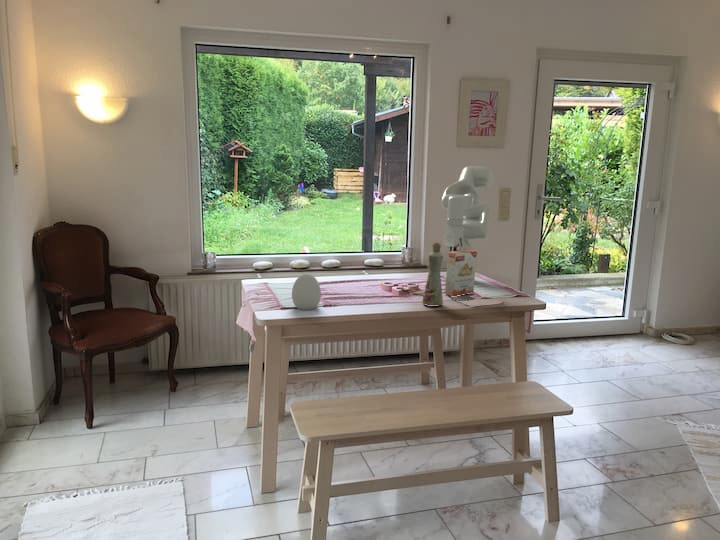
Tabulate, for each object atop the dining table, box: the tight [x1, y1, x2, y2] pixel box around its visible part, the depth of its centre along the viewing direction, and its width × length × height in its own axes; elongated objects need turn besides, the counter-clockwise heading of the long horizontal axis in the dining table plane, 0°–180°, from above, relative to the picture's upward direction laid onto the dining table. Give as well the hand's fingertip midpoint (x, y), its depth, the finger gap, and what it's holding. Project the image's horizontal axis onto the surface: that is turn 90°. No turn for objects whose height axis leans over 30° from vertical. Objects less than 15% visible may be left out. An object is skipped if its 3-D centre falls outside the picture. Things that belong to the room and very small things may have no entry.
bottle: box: [421, 242, 444, 306], centre depth 260 cm, size 9×9×28 cm
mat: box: [449, 295, 475, 301], centre depth 272 cm, size 16×18×1 cm
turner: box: [410, 288, 425, 297], centre depth 283 cm, size 16×5×1 cm, turn 48°
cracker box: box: [444, 250, 478, 297], centre depth 281 cm, size 14×6×21 cm, turn 126°
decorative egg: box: [291, 272, 322, 311], centre depth 252 cm, size 12×12×15 cm
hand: (452, 260), depth 286 cm, fingers closed
